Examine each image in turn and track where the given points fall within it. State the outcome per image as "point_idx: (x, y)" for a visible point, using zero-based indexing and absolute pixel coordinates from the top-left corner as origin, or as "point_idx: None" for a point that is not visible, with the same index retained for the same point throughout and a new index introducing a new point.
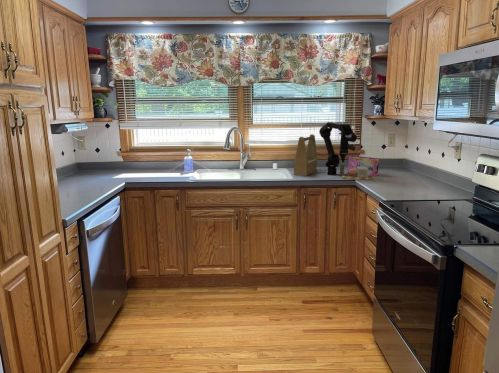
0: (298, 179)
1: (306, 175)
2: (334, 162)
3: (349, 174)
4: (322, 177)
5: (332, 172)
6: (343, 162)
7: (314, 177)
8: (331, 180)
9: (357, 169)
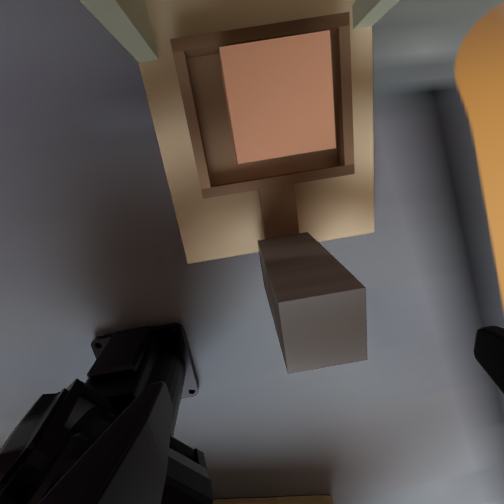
0: (480, 493)
1: (325, 497)
2: (185, 482)
3: (350, 154)
4: (353, 392)
5: (178, 368)
6: (489, 330)
7: (373, 438)
8: (477, 303)
9: (129, 15)
